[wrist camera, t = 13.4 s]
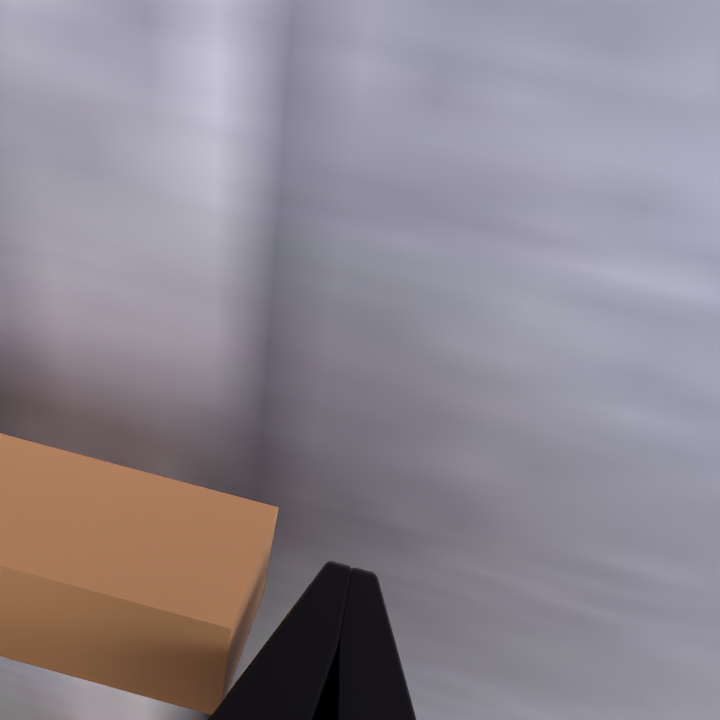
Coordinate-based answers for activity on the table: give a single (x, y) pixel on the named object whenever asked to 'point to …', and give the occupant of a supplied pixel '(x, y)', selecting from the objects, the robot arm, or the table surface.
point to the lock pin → (127, 574)
